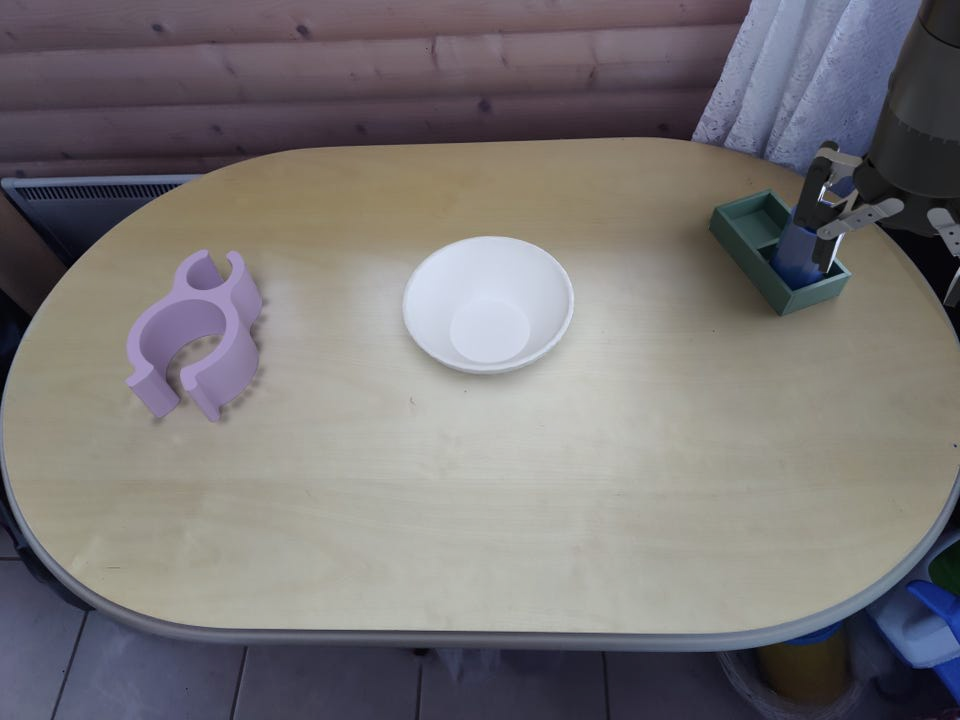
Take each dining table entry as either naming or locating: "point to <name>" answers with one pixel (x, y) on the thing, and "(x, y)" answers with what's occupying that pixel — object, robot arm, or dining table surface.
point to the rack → (769, 250)
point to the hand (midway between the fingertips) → (885, 280)
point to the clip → (197, 336)
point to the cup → (796, 255)
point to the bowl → (488, 304)
